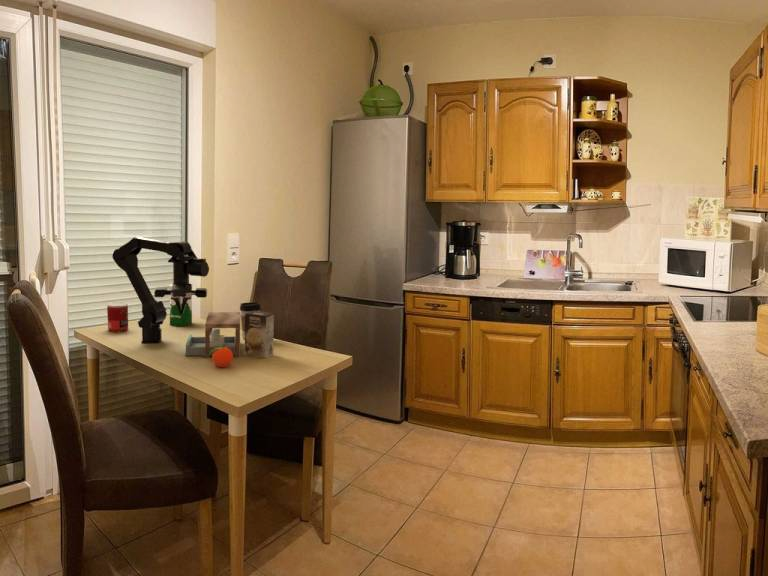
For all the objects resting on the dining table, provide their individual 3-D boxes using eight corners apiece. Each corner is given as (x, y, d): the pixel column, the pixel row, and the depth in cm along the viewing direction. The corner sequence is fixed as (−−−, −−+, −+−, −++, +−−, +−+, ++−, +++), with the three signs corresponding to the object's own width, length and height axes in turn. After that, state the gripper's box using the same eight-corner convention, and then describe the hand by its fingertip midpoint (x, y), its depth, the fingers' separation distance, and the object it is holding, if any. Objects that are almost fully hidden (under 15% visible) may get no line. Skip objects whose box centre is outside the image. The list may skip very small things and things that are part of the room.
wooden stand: (205, 357, 208) (205, 324, 206) (208, 343, 229) (208, 312, 227) (239, 357, 211) (239, 323, 209) (239, 342, 231) (240, 312, 229)
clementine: (210, 370, 194) (210, 350, 193) (207, 365, 200) (207, 345, 199) (234, 368, 197) (234, 348, 196) (231, 363, 203) (231, 343, 202)
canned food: (123, 332, 239) (122, 306, 238) (104, 331, 239) (103, 305, 238) (131, 328, 247) (131, 303, 245) (113, 327, 247) (112, 302, 245)
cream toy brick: (205, 349, 214) (205, 334, 213) (208, 343, 223) (208, 328, 222) (222, 349, 215) (222, 334, 214) (224, 343, 224) (224, 328, 223)
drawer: (185, 355, 209) (185, 344, 208) (189, 344, 224) (189, 334, 224) (236, 354, 213) (236, 344, 213) (237, 343, 229) (237, 333, 228)
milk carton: (194, 322, 262) (194, 279, 259) (184, 327, 253) (184, 282, 250) (176, 321, 263) (176, 278, 260) (166, 325, 255) (165, 280, 251)
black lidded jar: (255, 342, 234) (255, 305, 231) (235, 340, 235) (236, 304, 233) (263, 337, 242) (264, 302, 239) (244, 335, 243) (245, 300, 241)
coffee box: (243, 355, 214) (243, 313, 211) (252, 351, 220) (253, 310, 217) (265, 358, 211) (265, 315, 208) (274, 354, 217) (274, 312, 214)
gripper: (151, 277, 210) (152, 319, 213) (205, 278, 215) (205, 319, 217) (156, 273, 221) (157, 312, 224) (207, 273, 225) (207, 313, 228)
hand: (181, 314), depth 223 cm, fingers closed
